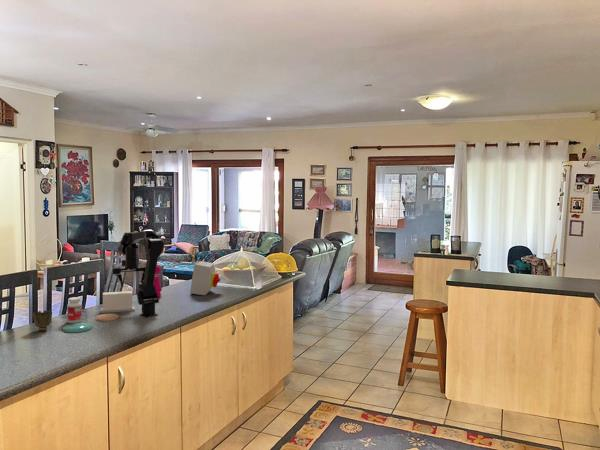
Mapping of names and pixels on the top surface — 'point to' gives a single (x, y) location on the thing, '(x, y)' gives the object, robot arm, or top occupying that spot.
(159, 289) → the pepper mill
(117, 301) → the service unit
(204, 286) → the electrical switch box
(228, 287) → the top surface
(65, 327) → the teal plate
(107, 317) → the terracotta plate
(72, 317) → the pill bottle
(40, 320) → the cup
